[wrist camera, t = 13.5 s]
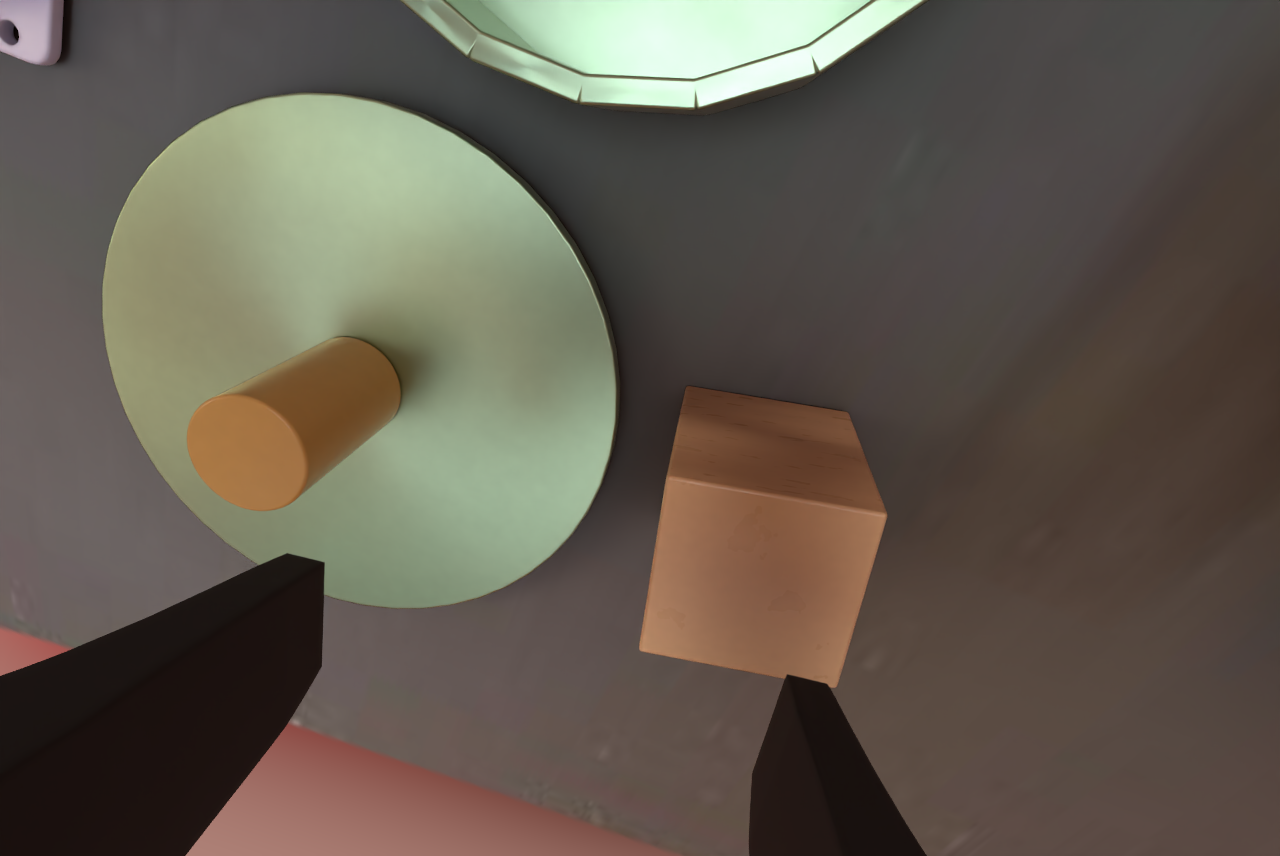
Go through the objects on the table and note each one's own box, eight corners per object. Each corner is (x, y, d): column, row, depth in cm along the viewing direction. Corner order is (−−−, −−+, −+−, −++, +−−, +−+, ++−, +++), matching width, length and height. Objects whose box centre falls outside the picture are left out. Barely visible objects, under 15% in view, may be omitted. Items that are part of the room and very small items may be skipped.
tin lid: (114, 485, 23) (-72, 590, 17) (159, 0, 17) (-89, -56, 12) (533, 651, 23) (473, 802, 18) (706, 226, 18) (692, 265, 12)
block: (663, 525, 21) (637, 652, 16) (686, 384, 19) (666, 475, 14) (813, 551, 20) (837, 690, 15) (849, 411, 19) (889, 514, 14)
